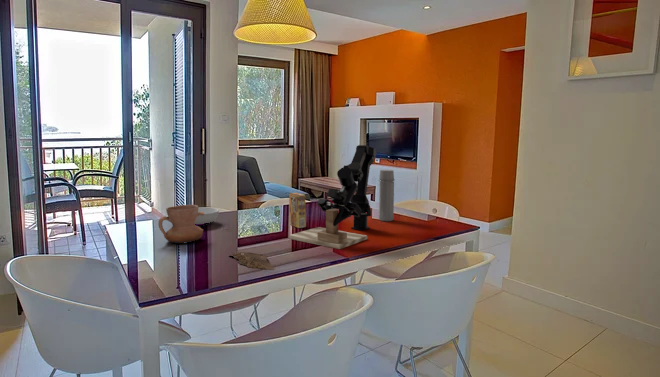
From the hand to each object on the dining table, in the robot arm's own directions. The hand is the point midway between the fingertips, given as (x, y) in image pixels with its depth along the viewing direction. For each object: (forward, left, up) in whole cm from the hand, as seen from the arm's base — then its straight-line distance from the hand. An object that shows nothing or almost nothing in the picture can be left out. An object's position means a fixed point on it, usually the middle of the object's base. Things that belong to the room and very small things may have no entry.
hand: (329, 224), depth 166 cm
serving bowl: (+10, -73, -8) cm, 74 cm away
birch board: (-6, -6, -8) cm, 12 cm away
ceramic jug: (+33, -50, -8) cm, 60 cm away
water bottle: (-52, -6, -8) cm, 53 cm away
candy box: (-16, -32, -8) cm, 37 cm away
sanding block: (-1, 0, -6) cm, 7 cm away
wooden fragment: (+33, -8, -9) cm, 35 cm away
